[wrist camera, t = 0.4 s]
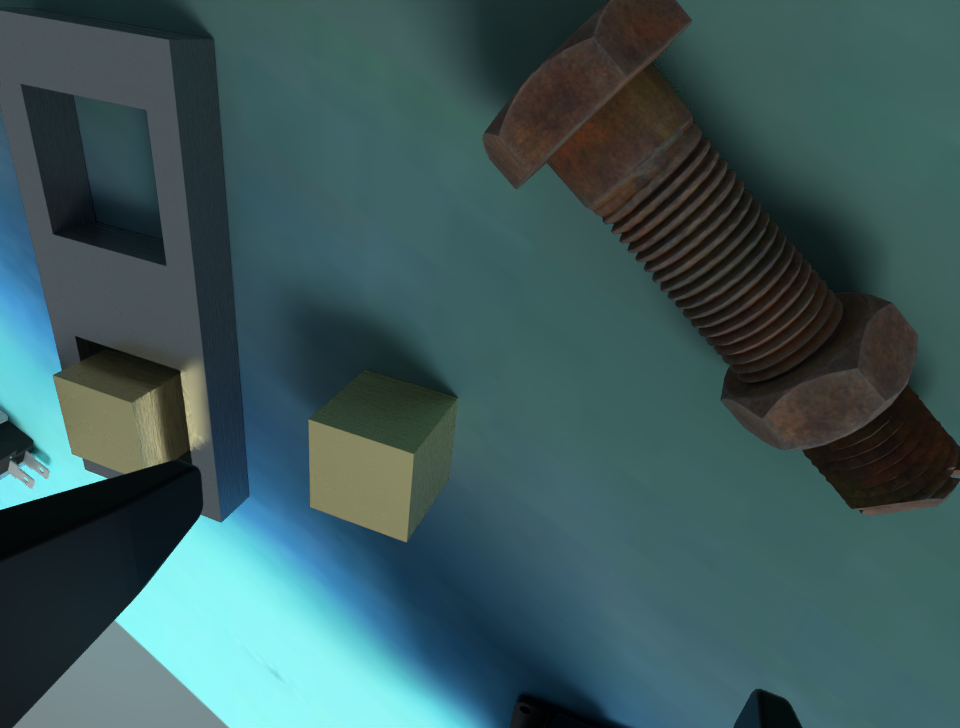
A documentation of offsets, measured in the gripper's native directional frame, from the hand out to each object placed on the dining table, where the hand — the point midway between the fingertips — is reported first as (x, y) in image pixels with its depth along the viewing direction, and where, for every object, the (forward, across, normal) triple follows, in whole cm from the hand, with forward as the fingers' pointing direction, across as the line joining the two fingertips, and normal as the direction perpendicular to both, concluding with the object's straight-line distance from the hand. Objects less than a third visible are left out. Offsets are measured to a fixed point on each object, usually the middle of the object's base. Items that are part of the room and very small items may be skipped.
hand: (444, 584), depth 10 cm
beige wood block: (+13, +6, +7) cm, 17 cm away
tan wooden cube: (+13, +18, +10) cm, 25 cm away
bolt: (+14, -4, -2) cm, 14 cm away
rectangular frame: (+13, +18, +5) cm, 23 cm away
